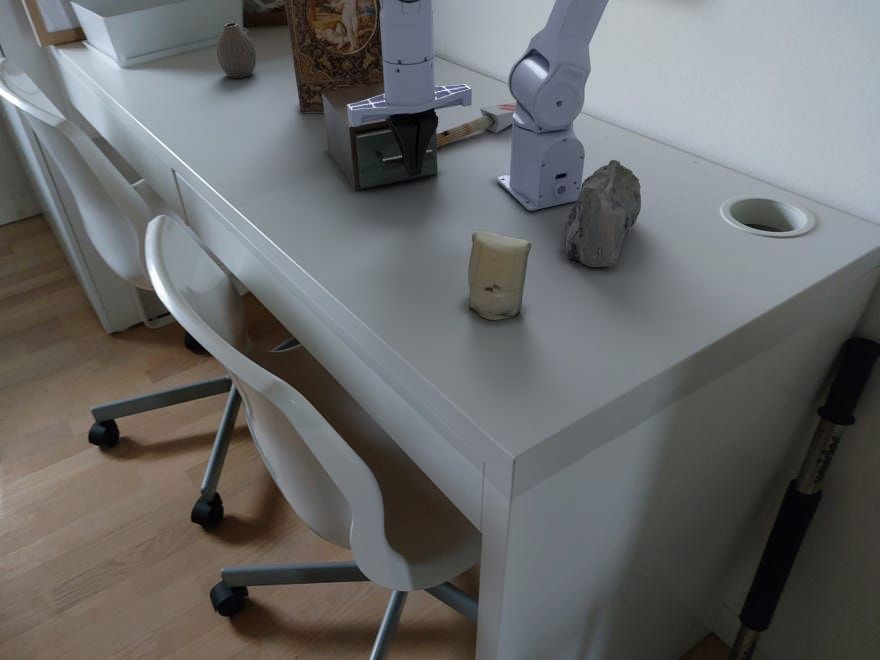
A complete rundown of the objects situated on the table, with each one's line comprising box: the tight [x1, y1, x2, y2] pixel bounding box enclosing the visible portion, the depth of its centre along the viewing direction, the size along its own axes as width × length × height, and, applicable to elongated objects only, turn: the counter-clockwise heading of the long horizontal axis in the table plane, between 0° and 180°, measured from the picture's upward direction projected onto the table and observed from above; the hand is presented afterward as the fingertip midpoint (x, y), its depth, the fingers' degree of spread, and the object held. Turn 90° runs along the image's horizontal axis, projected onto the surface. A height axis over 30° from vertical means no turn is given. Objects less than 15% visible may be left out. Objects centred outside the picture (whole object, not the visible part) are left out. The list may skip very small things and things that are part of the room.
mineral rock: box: [564, 159, 642, 268], centre depth 78 cm, size 13×11×10 cm
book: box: [284, 0, 384, 114], centre depth 109 cm, size 16×6×25 cm, turn 84°
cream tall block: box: [467, 230, 532, 321], centre depth 69 cm, size 6×5×8 cm
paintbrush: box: [437, 102, 516, 149], centre depth 106 cm, size 4×3×20 cm
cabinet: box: [322, 82, 438, 192], centre depth 97 cm, size 14×12×9 cm
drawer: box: [355, 126, 438, 188], centre depth 94 cm, size 17×10×7 cm, turn 19°
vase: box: [216, 22, 257, 79], centre depth 130 cm, size 7×7×9 cm
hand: (413, 172), depth 87 cm, fingers closed, pressing on drawer
